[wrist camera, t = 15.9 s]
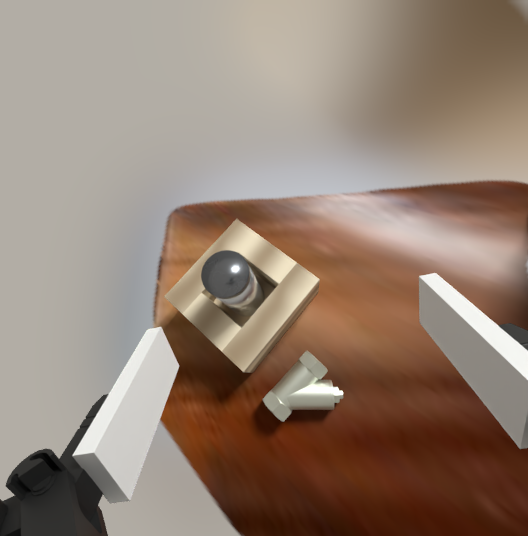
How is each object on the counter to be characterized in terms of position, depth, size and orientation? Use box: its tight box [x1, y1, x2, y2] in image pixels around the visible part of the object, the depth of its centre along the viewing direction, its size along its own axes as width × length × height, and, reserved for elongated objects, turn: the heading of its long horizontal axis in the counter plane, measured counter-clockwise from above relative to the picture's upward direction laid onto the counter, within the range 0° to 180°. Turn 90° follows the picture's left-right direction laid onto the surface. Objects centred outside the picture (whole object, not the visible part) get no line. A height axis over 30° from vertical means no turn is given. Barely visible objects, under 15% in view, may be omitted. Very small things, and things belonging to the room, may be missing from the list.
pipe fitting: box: [263, 351, 343, 422], centre depth 36 cm, size 8×4×7 cm
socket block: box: [164, 219, 320, 373], centre depth 40 cm, size 14×14×6 cm
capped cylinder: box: [201, 250, 265, 316], centre depth 36 cm, size 5×5×12 cm
